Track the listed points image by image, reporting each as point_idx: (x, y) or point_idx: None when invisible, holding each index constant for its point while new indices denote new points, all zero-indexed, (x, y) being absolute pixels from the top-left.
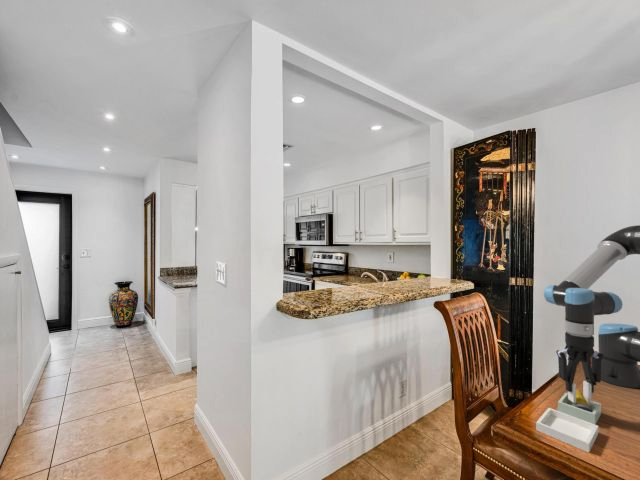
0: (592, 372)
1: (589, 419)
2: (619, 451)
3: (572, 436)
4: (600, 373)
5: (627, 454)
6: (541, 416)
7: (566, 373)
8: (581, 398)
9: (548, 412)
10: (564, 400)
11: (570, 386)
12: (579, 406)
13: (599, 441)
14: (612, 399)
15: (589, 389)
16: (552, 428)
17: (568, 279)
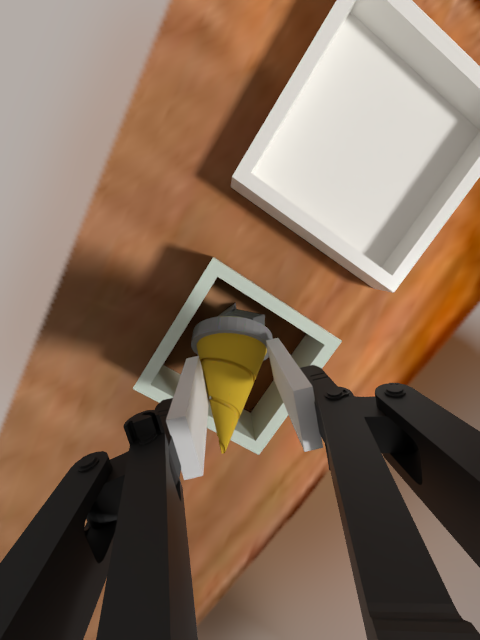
0: (115, 533)
1: (231, 268)
2: (204, 56)
3: (413, 11)
4: (17, 547)
5: (180, 39)
6: (471, 185)
7: (436, 432)
8: (230, 373)
9: (415, 242)
10: None
11: (318, 383)
12: (255, 322)
13: (253, 119)
14: None
15: (188, 394)
16: (475, 69)
17: None
